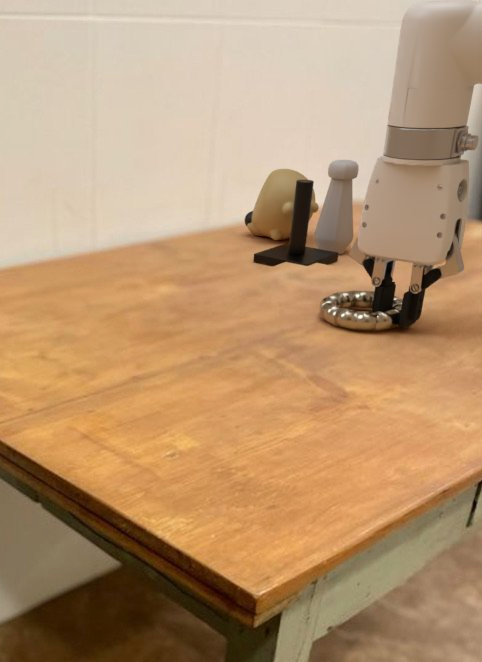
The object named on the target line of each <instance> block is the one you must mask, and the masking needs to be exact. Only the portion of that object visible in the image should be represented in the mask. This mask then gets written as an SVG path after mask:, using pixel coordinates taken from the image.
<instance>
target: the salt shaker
mask: <svg viewBox="0 0 482 662" xmlns="http://www.w3.org/2000/svg"><path fill="white" fill-rule="evenodd" d="M327 175H328V178H330V182H329V185H328V188H327V192H326V195H325V198H324V201H323V205H322V208H321V210H320V213H319V217H318V220H317V224H316V227H315V230H314V232H313V233H314V240H315V244H316V249H321V250H327V251H332V252H338V253H339V254H338V255H344V254H345V252H346V251H347V249H348V248H349V246H350V244H351V243H352V242H353V240H354V210H353V209H354V208H353V207H354V206H353V180H354V179H356V178H358V175H359V164H358V163H357V161H355V160H351V159H336V160H332V161H331V162H330V163H329V165H328V168H327Z"/></svg>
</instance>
